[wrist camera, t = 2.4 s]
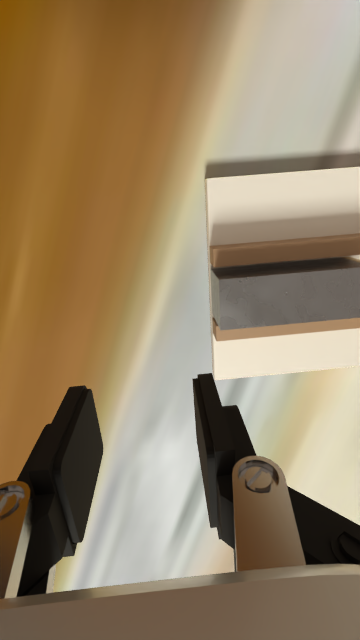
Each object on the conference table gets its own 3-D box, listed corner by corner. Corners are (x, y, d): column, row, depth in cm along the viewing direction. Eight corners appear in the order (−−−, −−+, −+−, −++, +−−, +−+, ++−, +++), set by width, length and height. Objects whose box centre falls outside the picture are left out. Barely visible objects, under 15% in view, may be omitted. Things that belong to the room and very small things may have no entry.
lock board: (480, 158, 25) (556, 147, 21) (433, 352, 32) (482, 379, 27) (204, 179, 25) (215, 173, 20) (212, 374, 31) (222, 405, 26)
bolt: (349, 256, 26) (380, 265, 23) (343, 301, 28) (372, 316, 24) (210, 268, 26) (219, 279, 22) (212, 313, 28) (220, 330, 24)
